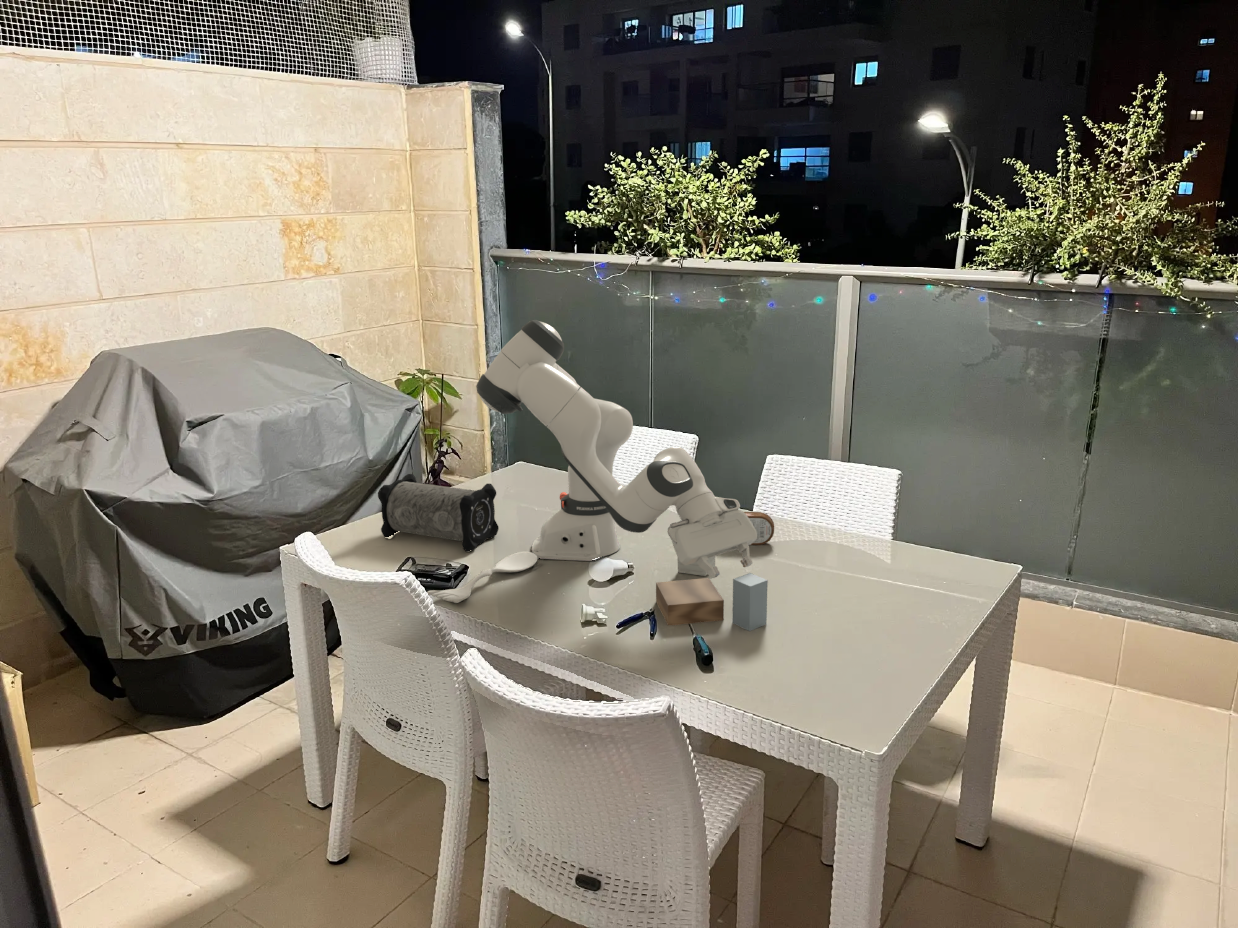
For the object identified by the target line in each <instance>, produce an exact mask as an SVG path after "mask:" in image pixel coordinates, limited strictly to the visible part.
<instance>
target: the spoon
mask: <svg viewBox="0 0 1238 928" xmlns="http://www.w3.org/2000/svg"><path fill="white" fill-rule="evenodd" d="M538 559H539V558H537V556H536V555H535V554H534V553H532V551H518V552H515V553H512V554H509V555H507V556H505V557H503V558H501V560H499V561H498V562H496V563H495V565H494V567H491V568H488V569H482V570H480V573H478V574H477V575H475V576H474V577H472V578H471V579H470V580H469V581H468V582H467V583H466V584H465V585H464V586H461V587H459V588H449V589H445V590H444V589H443V590H434V589H433V590H428V591H427V592H426V594H427V593H428V595H427V596H432V597H434V598H437V599H441V600H443V601H447V602H452V603H454V604H457V603H460V602H463V601H464V600H466V599H468V598H470V597H471V593H472V592H471V591H472V589H473V588H474V585H476V583H477V582H478V581H479V580H481V579H483V578H486V577H490V576H492V575H493V573H519V572H523V571H525V570H527V569H530V568H532V567H533V566H534V565H535V564H536V563H537V561H538Z"/></svg>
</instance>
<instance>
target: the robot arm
mask: <svg viewBox="0 0 1238 928" xmlns="http://www.w3.org/2000/svg"><path fill="white" fill-rule="evenodd" d="M564 352H565V342H563V339H562V337H561V335H560V333H559V332H558V331H557V330H556V329H555V327H553V326H551V325H550V324H548V323H546V322H543V321H539V320H538V319H533V320H530V321H528V322H527V323H525V324H524V325H523V326H521V328H520V330H519V331H518V332H517V333H516V334H515V335H514V336H513V337H512V338H511V339H510V340H509V341H508V342H506V343H505V344H504V345H503V347H502V348H501V349H500V352H499V353H498V354H497V355H496V356H495V357H494V359H493V361H492V362H491V363H490V364H489V366H488V367H487V369H486V370H485V372H484V373H482V374H481V376H480V377H479V379H478V382H477V383H476V393H477V394H478V395H479V397H480V400H481V402H482V403H483V404H484V405H485V406H486V407H487V408H488V409H490V410H492V411H494V412H497V413H501V415H502V414H503V415H509V414H510V415H511V414H513V413H515V412H518V411H519V412H522V411H524V409H523V408H522V406H521V405H522V404H524V405H525V407H526V408H527V410H528V411H530V413H531V414H533V416H534V417H535V418H536V419H537V420H538V421H540V423H541V424H543V425H544V426H545V427H546V428H547V429H548V430H550V432H551V433H552V434H553V435H554V437H555V438H556V440H557V442H558V443H559V444H560V447H561V454H562V457H563V459H564V461H565V462H566V463H567V464H568V467H567V479H568V480H567V481H568V482H567V484H568V487H567V488H568V493H567V492H566V491H562V492H560V494H559V500H560V507H561V508H560V509H559V510H558V511H557V512H555V513H554V514H553V515H551V516H550V517H548V518H547V519H546V520H545V521H544V522H543V525H542V526H541V530H540V534H539V537H537V538H535V539H534V540H533V542H532V545H531V553H534V554H535V555H536V556H537V558H538V559H539V558H540V560H541V559H542V560H544V559H545V560H561V561H564V560H566V561H581V562H583V561H584V562H585V561H587V562H593V561H592V559H595V558H598V557H601V558H603V557H606V556H609V555H612V554H614V553H616V552H618V551H619V550H620V548H621V544H620V541H619V537H618V534H617V530H616V529H617V528H616V525H618V526H619V528H620V529H622V530H625V531H627V532H631V533H636V534H638V533H639V534H640V533H644V532H646V531H648V530H649V529H650V527H652V526H653V524H654V523H655V522H656V520H657V519H658V518H659V517H660V516H662V514H664V513H665V512H666V511H667V510H668V509H669V508H670V507H671V506H675V507H674V508H675V511H676V513H677V515H678V517H679V519H680V520H681V521H680V520H679V521H677V522H672V523H671V524H670V525H669V527H668V528H667V534H668V537H669V538H670V540H671V542H672V547H673V549H674V551H675V554H676V555H677V560H678V559H679V561H680V562H681V563H682V564H684V565H688V564H691V563H695V562H697V564H698V565H699V567H701V568H702V569H703V570H705V571H706V572H707V573H708V574H707V575H708V576H709V579H715V578H717V577H719V576H720V571H719V568H718V566H715V567H713V566H712V565H711V564H709V563H708V562H707V561H708V558H710V557H714V556H715V557H717V556H720V555H722V554H725V553H729V552H733V551H735V550H738V552H739V554H741V556H742V558H741V560H739V562H740V563H741V565H742V567H743V568H746V567H749V566H752V565H753V560H752V558H751V556H750V546H752V545H751V544H752V543H753V542H754V541H755V540H756V539H757V532H756V530H755V528H754V526H753V524H752V523H751V521H750V519H749V518H748V516H747V515H746V514H745V513H744V512H745V511H743V510H742V509H740V507H741V504H740V502H739V500H737V499H735V498H724V497H721V496H719V497H718V496H715V495H714V493H713V491H712V490H711V489H710V488H709V487H708V486H707V483H706V480H705V476H704V475H703V473H702V471H701V469H700V468H699V466H698V464H697V463H696V461H695V460H694V458H693V457H692V456H691V455H690V454H689V452H688V451H687V450H686V449H684V448H683V447H680V446H672V447H671V446H670V447H667V448H665V449H663V450H661V451H660V452H658V453H657V454H656V455H655V456H654V459H653V461H652V462H650V463H649V464H647V465H646V466H645V467H644V468H643V469H642V470H641V471H640V472H639V473H638V474H636V476H635V477H634V478H633V479H632V480H631V481H630V482H629V483H628V484H627V485H622V484H620V483H619V482H618V480H617V479H616V478H615V477H614V476H613V468H614V461H615V459H616V455H617V453H618V451H619V449H620V448H621V447H622V446H623V445H624V444H626V442H627V441H628V440H629V439H630V437H631V436H632V433H633V427H634V421H633V416H632V414H631V412H630V411H629V410H628V409H626V408H625V407H623V406H621V405H620V404H617V403H616V402H612V401H608V400H604V399H598V398H594V397H593V396H592V395H591V394H590V393H589V392H588V391H586V390H585V389H584V388H583V387H581V386H580V385H579V384H578V383H577V381H576V379H575V378H574V377H573V376H572V375H570V374H569V373H568V372H567V371H566V370H565V369H564V368H562V367H561V366H560V365H559V364H558V363H556V362H558V361H559V360H560V359H561V357H562V355H563V353H564ZM602 556H603V557H602Z"/></svg>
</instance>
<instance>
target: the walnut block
mask: <svg viewBox="0 0 1238 928" xmlns="http://www.w3.org/2000/svg"><path fill="white" fill-rule="evenodd" d="M724 601H725V600H724V598H723V597H722V596H721V593H720V592H719V591H718V589H717V588H716V587H715V585H714V583H713V582H712V580H711V578H710V577H704V578H702V577H701V578H693V579H681V580H670V581H658V582H655V602H656V604H657V606H658V609H659V610H660V612H661V615H662V617H663V619H664V620H665V623H666V624H667V626H669V627H670V626H677V625H688V624H689V625H690V624H698V623H708V622H719V621H724V618H725V617H724V615H725V614H724V611H725V610H724V609H725V605H724V603H725V602H724Z"/></svg>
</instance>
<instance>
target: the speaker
mask: <svg viewBox="0 0 1238 928" xmlns="http://www.w3.org/2000/svg"><path fill="white" fill-rule="evenodd" d="M496 496H497V491H496V489H495V487H494V485H493V484H492V483H486V484H484V485H483V487H482V488H480V489H476V490H474V489H467V488H458V487H452V486H451V487H450V486H443V485H436V484H430V483H420V482H417V479H416V476H415V475H414V474H413V473H407V474H406V475H404V476H403V477H402V479H397V480H394V481H393V482H392V483H391V484H383V485H382V486H381V487H380V488H379V490H378V492H377V498H378V500H379V502H380V503H381V517H382V523H383V524H382V525H381V528H380V532H381V534H382V536H383V537H384V538H385V537H389V536H391V535H394V533H396V532H398V531H400V533H409V534H413V535H420V536H428V537H433V538H434V537H435V538H439V539H447V540H454V541H461V542H462V543H461V546H462V549H463V551H465V552H466V551H470V550H472V551H474V550H476V548H477V546H478V544H479V545H481V544H482V542H483V543H484V542H485V541H486V540H487V538H488V539H492V538H491V537H493V538H495V537H496V535H497V534H498V532H499V530H500V529H499V525H498V523H497V521H496V519H495V518H496V517H495V514H496V513H495V512H496V511H495V510H496V509H495V504H494V503H495V502H494V500H495V498H496ZM480 543H481V544H480ZM470 552H471V551H470Z"/></svg>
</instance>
